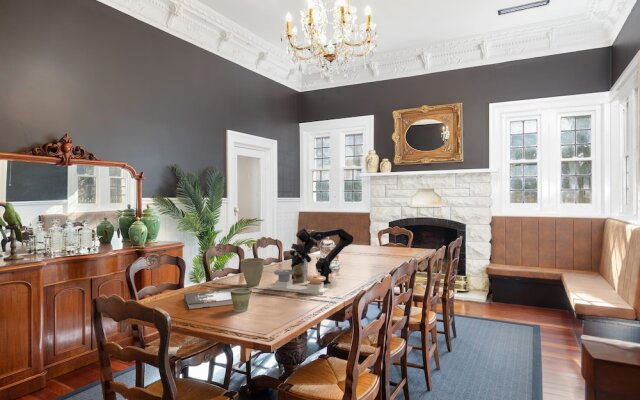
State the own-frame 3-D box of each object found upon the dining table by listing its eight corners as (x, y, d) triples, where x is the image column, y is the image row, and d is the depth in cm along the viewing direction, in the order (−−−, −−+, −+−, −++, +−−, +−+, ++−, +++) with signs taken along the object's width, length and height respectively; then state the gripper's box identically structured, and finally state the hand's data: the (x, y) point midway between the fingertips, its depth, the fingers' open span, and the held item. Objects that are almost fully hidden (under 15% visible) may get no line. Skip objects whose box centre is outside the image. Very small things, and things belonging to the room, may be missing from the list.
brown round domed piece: (301, 289, 235) (301, 278, 235) (310, 284, 246) (310, 274, 246) (320, 290, 230) (320, 279, 230) (328, 286, 241) (328, 275, 241)
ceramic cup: (241, 314, 194) (241, 293, 194) (226, 311, 199) (225, 290, 199) (259, 307, 205) (259, 288, 205) (244, 305, 210) (244, 285, 210)
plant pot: (267, 282, 264) (267, 257, 263) (261, 287, 249) (261, 261, 249) (244, 282, 265) (244, 257, 265) (237, 287, 250) (237, 261, 250)
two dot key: (270, 282, 243) (270, 271, 243) (280, 278, 254) (280, 268, 254) (288, 284, 238) (288, 273, 238) (297, 280, 249) (297, 269, 249)
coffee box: (291, 281, 267) (291, 256, 267) (295, 279, 273) (295, 255, 273) (304, 282, 264) (303, 257, 263) (308, 280, 270) (307, 256, 269)
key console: (270, 289, 245) (270, 280, 245) (278, 286, 253) (278, 278, 253) (322, 294, 231) (322, 285, 231) (328, 291, 240) (328, 282, 239)
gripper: (291, 237, 259) (276, 256, 253) (306, 240, 244) (290, 260, 238) (302, 248, 264) (287, 267, 258) (317, 252, 248) (302, 272, 242)
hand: (291, 266), depth 249 cm, fingers closed
